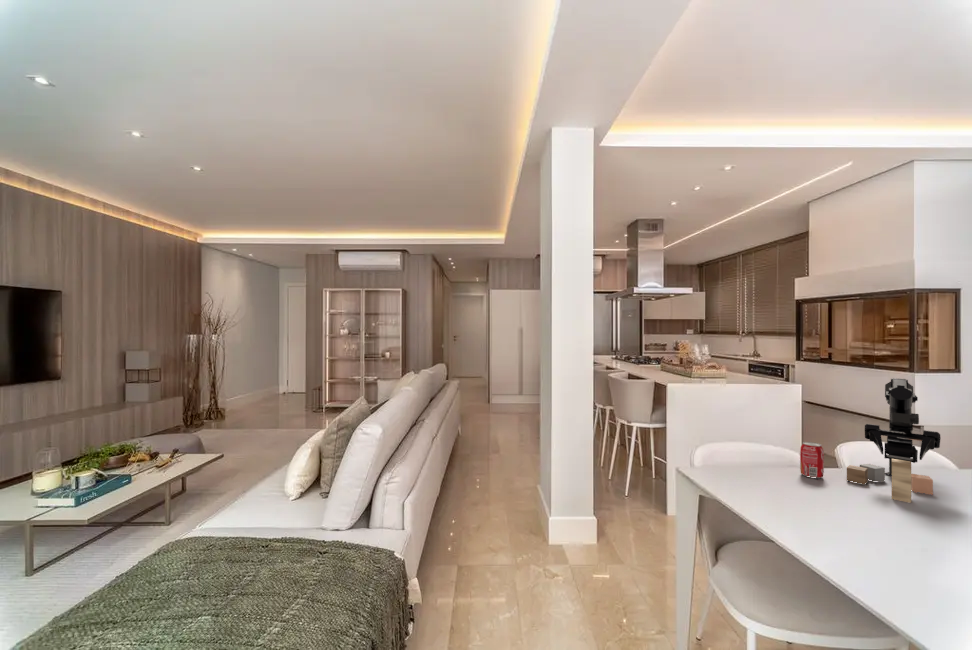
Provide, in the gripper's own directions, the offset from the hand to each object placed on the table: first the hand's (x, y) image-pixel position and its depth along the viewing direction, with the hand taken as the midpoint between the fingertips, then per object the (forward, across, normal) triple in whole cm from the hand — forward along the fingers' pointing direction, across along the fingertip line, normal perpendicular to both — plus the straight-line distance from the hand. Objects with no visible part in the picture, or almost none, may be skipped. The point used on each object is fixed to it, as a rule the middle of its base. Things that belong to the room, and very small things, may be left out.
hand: (901, 456), depth 147 cm
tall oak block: (+13, 0, +5) cm, 14 cm away
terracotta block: (+2, +5, +15) cm, 16 cm away
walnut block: (+4, -11, +13) cm, 18 cm away
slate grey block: (0, -7, +18) cm, 20 cm away
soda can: (+8, -24, +10) cm, 27 cm away
